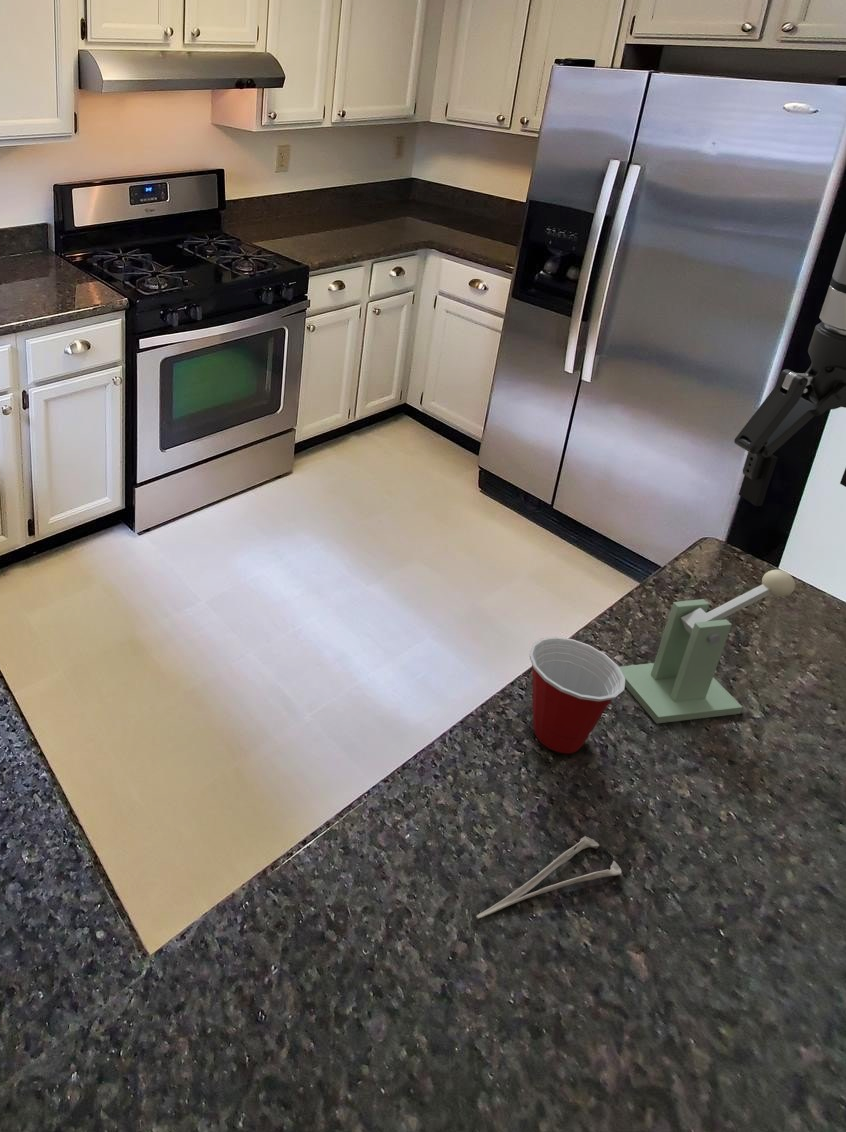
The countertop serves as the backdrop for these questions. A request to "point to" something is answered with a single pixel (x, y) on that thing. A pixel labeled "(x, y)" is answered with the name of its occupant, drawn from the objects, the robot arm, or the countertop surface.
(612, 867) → the lower jaw bone
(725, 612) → the lever
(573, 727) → the plastic cup
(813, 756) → the countertop surface
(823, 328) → the robot arm
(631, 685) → the bracket
